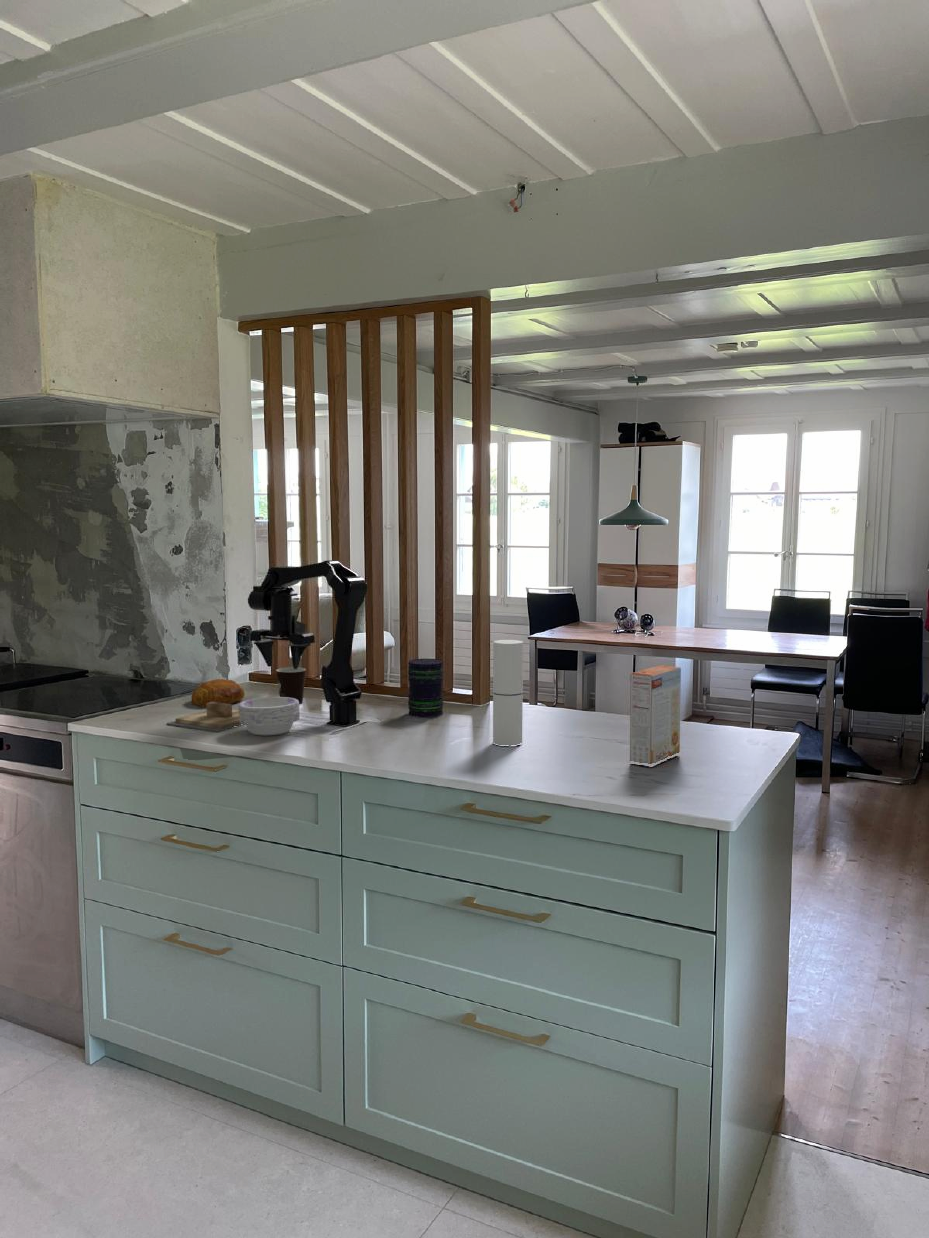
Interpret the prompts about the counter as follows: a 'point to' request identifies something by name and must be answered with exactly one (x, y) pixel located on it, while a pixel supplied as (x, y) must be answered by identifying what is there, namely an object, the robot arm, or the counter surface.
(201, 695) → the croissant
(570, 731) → the counter surface
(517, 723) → the cylindrical container
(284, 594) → the robot arm
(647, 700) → the cracker box
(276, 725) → the paper bowls
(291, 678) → the coffee mug
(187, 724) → the mat
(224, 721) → the oak lid
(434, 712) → the storage jar
